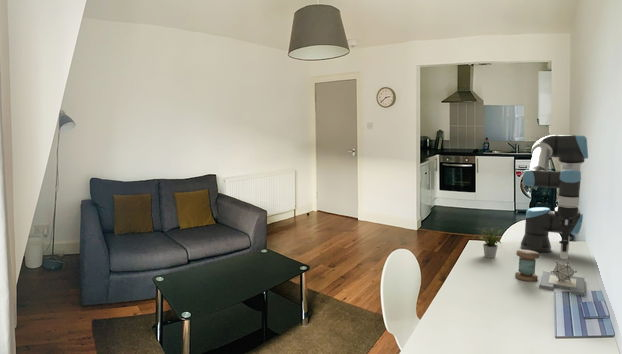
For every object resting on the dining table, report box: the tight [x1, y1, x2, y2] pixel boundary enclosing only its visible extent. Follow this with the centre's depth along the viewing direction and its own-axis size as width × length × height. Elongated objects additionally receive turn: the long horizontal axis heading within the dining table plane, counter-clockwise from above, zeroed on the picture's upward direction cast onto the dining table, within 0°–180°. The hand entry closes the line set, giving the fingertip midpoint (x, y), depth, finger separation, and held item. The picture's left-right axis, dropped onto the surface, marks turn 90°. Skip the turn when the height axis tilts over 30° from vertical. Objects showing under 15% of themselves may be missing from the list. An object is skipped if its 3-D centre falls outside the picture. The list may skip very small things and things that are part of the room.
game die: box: [550, 261, 577, 282], centre depth 179 cm, size 9×8×10 cm
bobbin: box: [514, 249, 540, 283], centre depth 186 cm, size 9×9×12 cm
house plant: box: [477, 226, 503, 259], centre depth 217 cm, size 14×14×16 cm
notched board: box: [538, 270, 585, 296], centre depth 179 cm, size 20×16×2 cm
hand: (564, 254), depth 178 cm, fingers open, 13 cm apart
